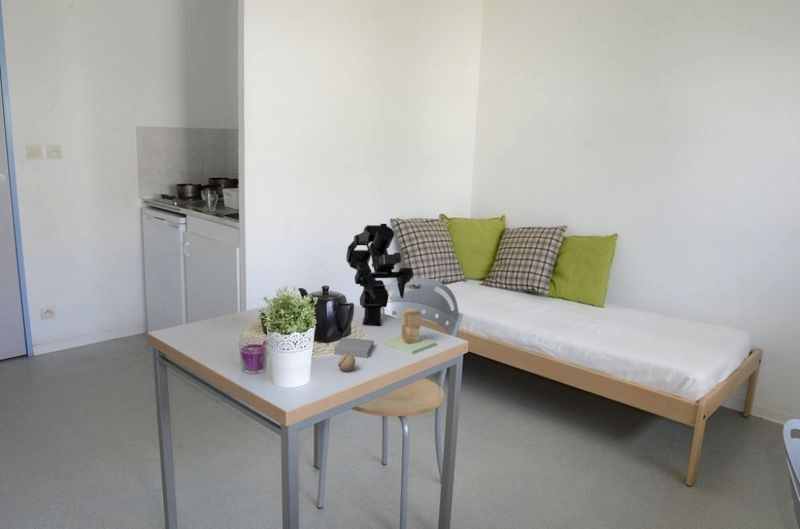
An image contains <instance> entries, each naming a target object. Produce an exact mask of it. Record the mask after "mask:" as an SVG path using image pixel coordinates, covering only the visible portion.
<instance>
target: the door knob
mask: <svg viewBox="0 0 800 529" xmlns="http://www.w3.org/2000/svg"><path fill="white" fill-rule="evenodd" d="M341 356H342V357H341V358H340V359H339V361H338V363H337V364H338V365H337V367H339V370H341V371H343V372H350V371H351V370H353V369H354V367H355V366H356V358H355V357H354V356H353V355H351V354H349V353H346V354H344V355H341Z"/></svg>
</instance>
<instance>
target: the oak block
mask: <svg viewBox="0 0 800 529" xmlns="http://www.w3.org/2000/svg"><path fill="white" fill-rule="evenodd" d="M421 315H422V314H421V311H418V310H417V309H415V308H412V309H410V308H409V309H403V310H402V324H401V335H402V337H401V341H403V342H405V343H407V344H414V343H419V337H420V331H421V330H420V329H421Z"/></svg>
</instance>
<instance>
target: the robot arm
mask: <svg viewBox="0 0 800 529" xmlns="http://www.w3.org/2000/svg"><path fill="white" fill-rule="evenodd" d="M394 237H395V231H394V230H393V229H392V228H391V227H390V226H388V224H387V223H380V224H379V225H377V224H375V225H374V224H373V225H372V224H371V225H370V224H367V225H365V227H364V228H363V232H361V233H359V234H356V235H354V237H353V240H352V241H351V243H350V244H349V245H348V247H347V252H346V256H345V257H346V258H345V260H346V262H347V264H348V266H349V267H350V268H351V269H354V270H356V273H355V276H354V283H355V285H359V286H360V287H363V290H362V292H361V294H360V297H359V305H360V307H362V308H363V309H364V314H363V315H364V316H363V319H362V323H361V324H362V326H377V327H380V326H382V321H383V319H382V318H381V316H382V308H387V306H388V302H389V292H388V290H387V288H386V285H385V284H384V281H383V280H381V279H396V281H397V288H398V291H399V297H400V299H403V298H404V294H405V287H406V285H407V284H408V283H409V282H410V281H411V279H412V277H413V276H414V270H413V268H412V267H409V266H408V267H400V268H399V270H398V271H393V270H394V269H395V265H396V266H397V264H400V263H401V262H402V256H401V252H394V253H391V254H389V251H388V249H389V248H390V246H391V245H392V242H393V239H394ZM358 246H365V247H366V248H367V249H356V248H357V247H358ZM370 260H371V262H372V263H371V267H372V268H373V271H372V269H371V267H370V265H369V263H370Z"/></svg>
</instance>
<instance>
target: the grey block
mask: <svg viewBox="0 0 800 529" xmlns="http://www.w3.org/2000/svg"><path fill="white" fill-rule="evenodd" d="M374 344H375V341H374V340H372V339H364V338H354V337H353V338H352V337H344V336H343V337H341V338H340V340H339V341H338V342H337V344H336V345H335V346H334V349H333V351H334V352H333V354H334V355H336V354H337V355H338V356H343V355H344V354H346V353H349V354H351V355H353V356H354V358H355V357H356V358H363V359H364V358H365V359H367V358H369V355H370V354H371V352H372V350H373V348H374Z"/></svg>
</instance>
